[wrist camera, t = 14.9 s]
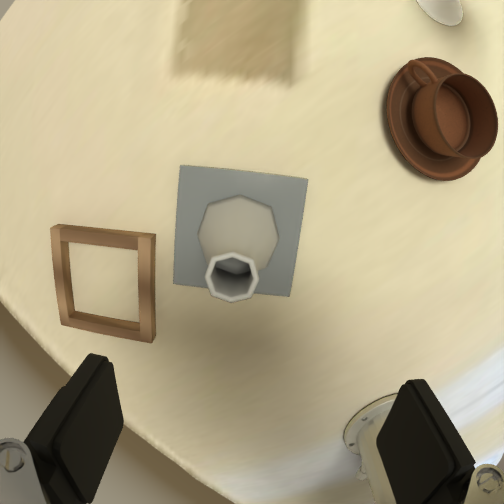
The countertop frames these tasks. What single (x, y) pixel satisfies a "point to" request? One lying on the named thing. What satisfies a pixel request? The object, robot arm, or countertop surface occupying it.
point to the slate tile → (228, 185)
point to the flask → (236, 245)
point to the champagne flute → (443, 10)
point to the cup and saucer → (440, 118)
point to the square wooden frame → (146, 280)
